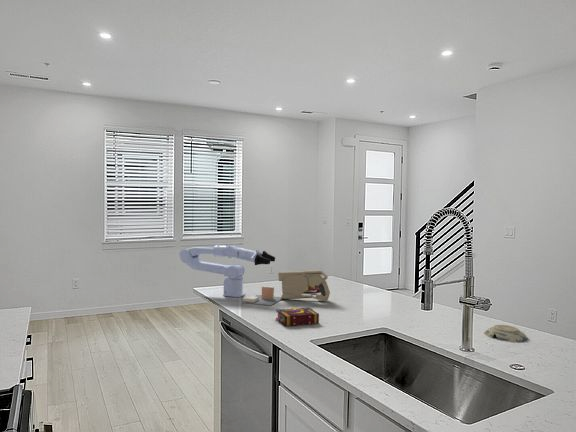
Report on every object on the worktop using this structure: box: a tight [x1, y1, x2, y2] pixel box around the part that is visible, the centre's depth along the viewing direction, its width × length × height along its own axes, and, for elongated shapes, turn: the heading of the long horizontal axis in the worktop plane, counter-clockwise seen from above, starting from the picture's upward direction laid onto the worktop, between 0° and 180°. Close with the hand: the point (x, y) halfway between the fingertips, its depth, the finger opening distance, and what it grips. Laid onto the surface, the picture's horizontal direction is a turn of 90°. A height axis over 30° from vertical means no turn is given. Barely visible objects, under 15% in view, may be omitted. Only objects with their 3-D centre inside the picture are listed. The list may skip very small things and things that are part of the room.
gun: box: [277, 269, 331, 303], centre depth 223 cm, size 25×3×16 cm, turn 84°
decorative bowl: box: [483, 324, 529, 343], centre depth 169 cm, size 15×4×15 cm
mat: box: [242, 294, 283, 307], centre depth 221 cm, size 15×18×1 cm
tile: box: [261, 285, 275, 300], centre depth 223 cm, size 6×2×6 cm, turn 70°
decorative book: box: [274, 306, 320, 327], centre depth 184 cm, size 11×16×5 cm
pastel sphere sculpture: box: [303, 285, 321, 293], centre depth 253 cm, size 25×24×9 cm
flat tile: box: [242, 295, 259, 303], centre depth 218 cm, size 6×6×2 cm
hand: (272, 260), depth 225 cm, fingers open, 7 cm apart
